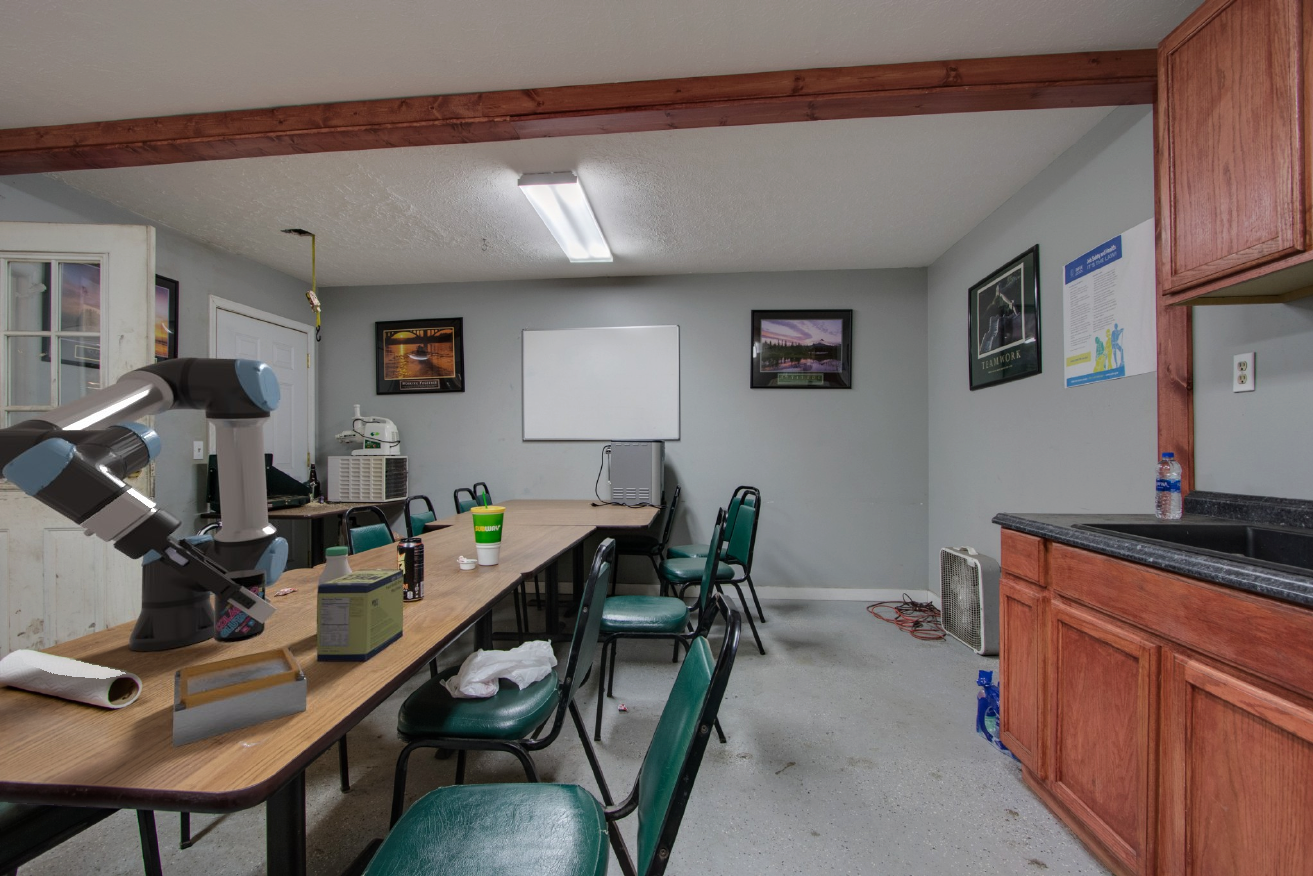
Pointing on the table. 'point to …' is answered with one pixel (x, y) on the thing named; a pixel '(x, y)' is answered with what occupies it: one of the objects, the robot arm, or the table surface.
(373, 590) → the protein box
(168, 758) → the table surface
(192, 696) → the wood-rimmed grey tray
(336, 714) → the table surface
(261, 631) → the supplement container
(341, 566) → the milk bottle
